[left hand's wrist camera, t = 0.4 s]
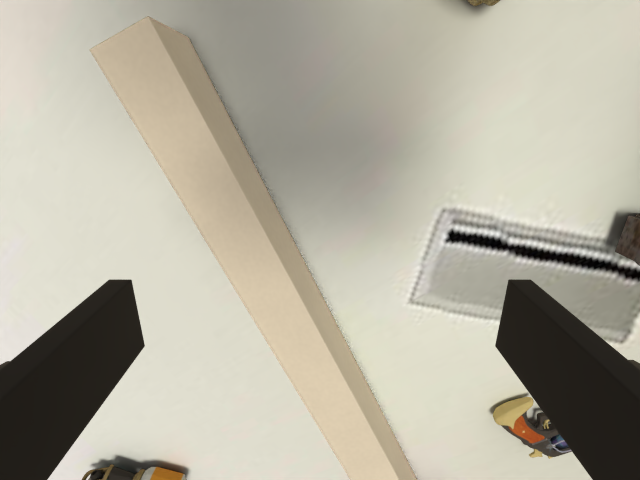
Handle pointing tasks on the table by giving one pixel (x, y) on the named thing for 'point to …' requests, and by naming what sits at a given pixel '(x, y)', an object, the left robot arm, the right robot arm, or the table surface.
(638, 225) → the toy
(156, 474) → the spray gun
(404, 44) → the table surface
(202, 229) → the post
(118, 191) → the table surface
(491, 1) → the sculpture
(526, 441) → the toy gun
